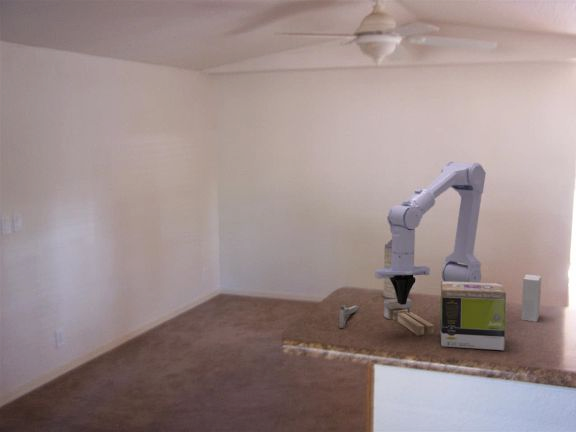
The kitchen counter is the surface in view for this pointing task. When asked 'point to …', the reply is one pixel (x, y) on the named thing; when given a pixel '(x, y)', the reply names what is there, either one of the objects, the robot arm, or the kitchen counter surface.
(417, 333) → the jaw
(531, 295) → the skincare box
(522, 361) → the kitchen counter surface
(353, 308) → the caliper
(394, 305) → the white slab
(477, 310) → the tea box
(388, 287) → the cream cylinder
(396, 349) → the kitchen counter surface
